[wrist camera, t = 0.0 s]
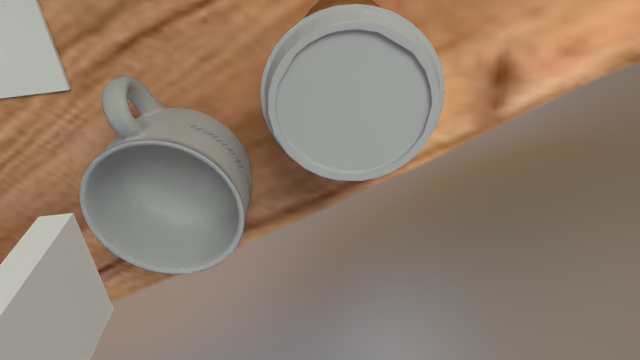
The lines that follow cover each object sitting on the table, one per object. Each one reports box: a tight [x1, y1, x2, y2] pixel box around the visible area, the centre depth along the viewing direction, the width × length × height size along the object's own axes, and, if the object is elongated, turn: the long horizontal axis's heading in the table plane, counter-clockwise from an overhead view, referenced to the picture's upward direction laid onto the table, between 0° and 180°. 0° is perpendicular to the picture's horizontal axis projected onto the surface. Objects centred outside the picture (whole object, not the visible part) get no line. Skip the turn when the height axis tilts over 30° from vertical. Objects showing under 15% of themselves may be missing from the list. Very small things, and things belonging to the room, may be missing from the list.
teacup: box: [79, 76, 252, 274], centre depth 38 cm, size 14×11×8 cm
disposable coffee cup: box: [260, 0, 445, 181], centre depth 33 cm, size 10×10×12 cm
